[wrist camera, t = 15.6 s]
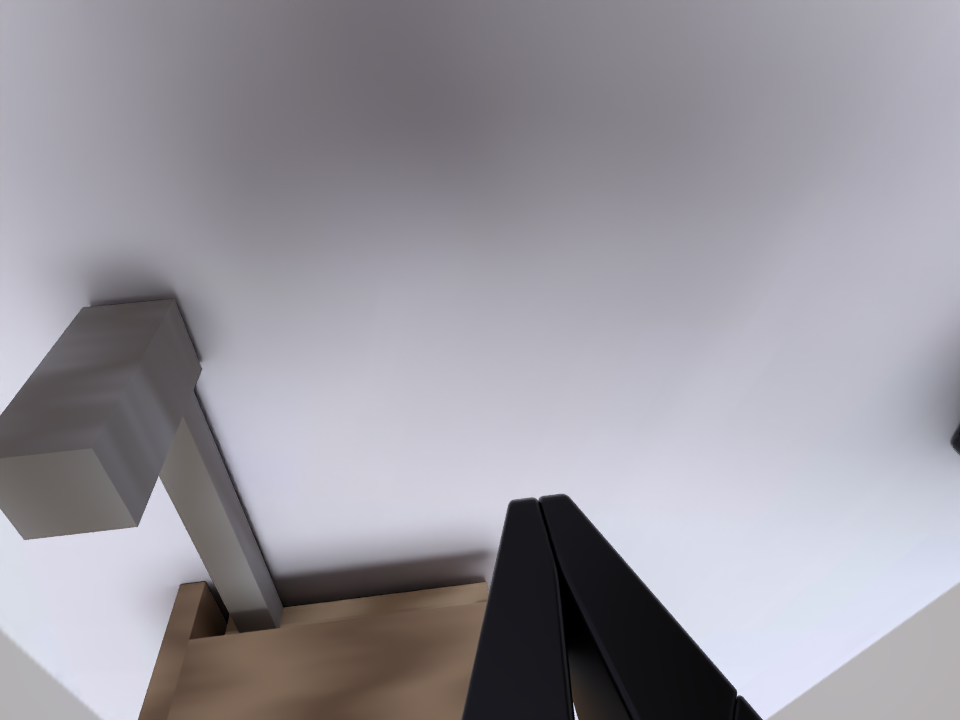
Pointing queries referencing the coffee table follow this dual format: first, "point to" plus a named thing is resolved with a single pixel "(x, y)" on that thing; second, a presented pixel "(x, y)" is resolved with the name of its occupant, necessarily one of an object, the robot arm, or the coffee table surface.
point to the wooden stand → (313, 666)
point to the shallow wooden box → (149, 461)
